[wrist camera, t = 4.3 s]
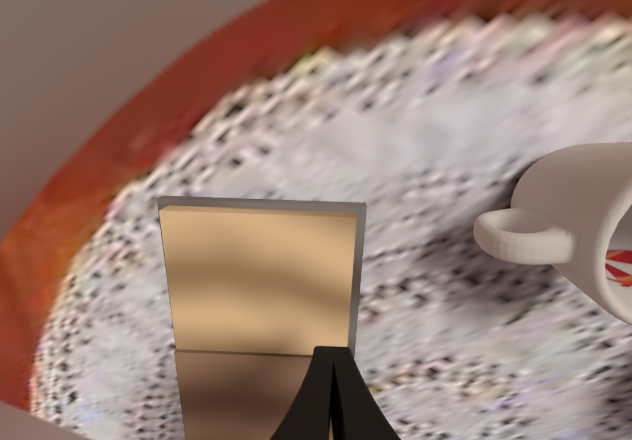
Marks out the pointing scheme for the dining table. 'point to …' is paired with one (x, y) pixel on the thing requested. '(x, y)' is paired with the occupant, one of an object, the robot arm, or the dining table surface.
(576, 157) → the cup
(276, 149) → the dining table surface
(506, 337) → the dining table surface
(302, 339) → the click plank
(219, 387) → the floor board
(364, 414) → the robot arm
